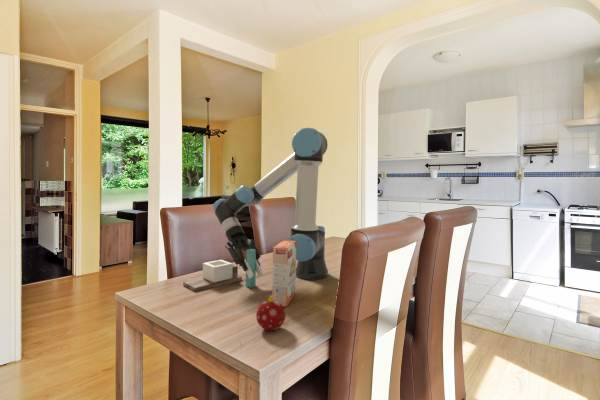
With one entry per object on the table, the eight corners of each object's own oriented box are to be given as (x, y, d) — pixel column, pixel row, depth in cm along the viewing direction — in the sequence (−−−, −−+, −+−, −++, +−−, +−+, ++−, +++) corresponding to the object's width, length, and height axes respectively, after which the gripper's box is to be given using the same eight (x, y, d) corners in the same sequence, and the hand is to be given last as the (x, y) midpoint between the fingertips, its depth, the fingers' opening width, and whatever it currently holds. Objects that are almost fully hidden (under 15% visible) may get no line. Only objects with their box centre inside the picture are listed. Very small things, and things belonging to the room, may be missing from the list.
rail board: (242, 280, 149) (242, 265, 148) (195, 291, 133) (194, 275, 133) (229, 275, 156) (229, 261, 155) (183, 285, 141) (183, 270, 140)
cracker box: (288, 307, 119) (288, 248, 117) (271, 306, 120) (271, 247, 118) (296, 294, 132) (297, 240, 131) (281, 292, 134) (281, 239, 132)
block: (232, 278, 146) (232, 263, 145) (213, 282, 140) (213, 267, 139) (221, 273, 152) (221, 259, 152) (202, 277, 146) (202, 263, 146)
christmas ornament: (265, 338, 96) (265, 303, 95) (251, 327, 103) (251, 294, 102) (290, 330, 101) (291, 297, 100) (275, 320, 108) (275, 289, 107)
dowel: (257, 286, 141) (257, 250, 140) (249, 288, 138) (249, 251, 137) (251, 283, 144) (251, 248, 143) (243, 285, 141) (243, 250, 140)
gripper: (245, 233, 156) (268, 276, 146) (212, 237, 145) (234, 285, 134) (252, 222, 152) (276, 266, 142) (219, 226, 140) (242, 274, 130)
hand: (256, 275), depth 138 cm, fingers closed on dowel, 4 cm apart
